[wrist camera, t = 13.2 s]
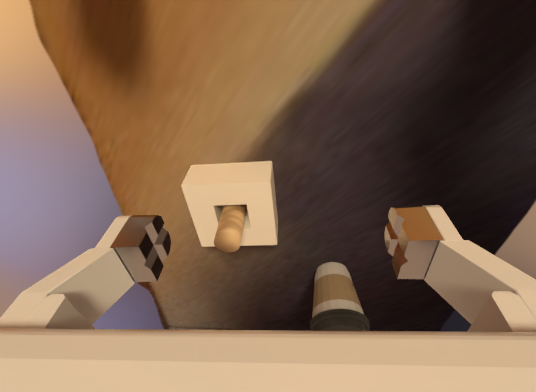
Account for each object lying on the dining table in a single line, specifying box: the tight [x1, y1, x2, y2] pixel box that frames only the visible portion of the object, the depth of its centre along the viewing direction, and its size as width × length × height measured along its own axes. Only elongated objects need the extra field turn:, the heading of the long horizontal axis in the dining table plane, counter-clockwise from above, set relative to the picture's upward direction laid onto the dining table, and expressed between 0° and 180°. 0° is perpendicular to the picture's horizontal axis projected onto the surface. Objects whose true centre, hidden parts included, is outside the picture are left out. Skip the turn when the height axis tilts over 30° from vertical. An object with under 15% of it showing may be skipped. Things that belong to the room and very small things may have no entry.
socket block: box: [181, 161, 278, 247], centre depth 51 cm, size 14×14×6 cm
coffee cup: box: [309, 262, 369, 331], centre depth 60 cm, size 11×11×15 cm
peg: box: [214, 204, 247, 253], centre depth 49 cm, size 4×4×12 cm
